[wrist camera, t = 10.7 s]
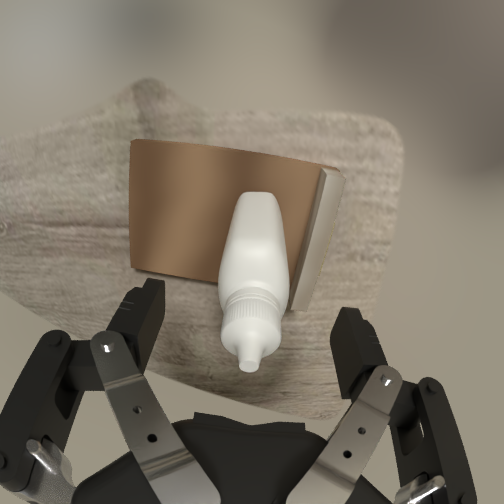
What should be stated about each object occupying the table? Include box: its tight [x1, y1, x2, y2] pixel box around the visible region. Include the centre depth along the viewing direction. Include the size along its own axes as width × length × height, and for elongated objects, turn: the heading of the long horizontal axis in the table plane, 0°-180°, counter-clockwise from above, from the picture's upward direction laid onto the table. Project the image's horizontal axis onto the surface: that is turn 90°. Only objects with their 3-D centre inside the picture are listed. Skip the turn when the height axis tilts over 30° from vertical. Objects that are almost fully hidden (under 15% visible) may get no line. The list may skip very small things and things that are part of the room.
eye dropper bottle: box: [218, 192, 290, 372], centre depth 16 cm, size 4×6×12 cm
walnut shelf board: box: [129, 139, 346, 312], centre depth 20 cm, size 14×10×3 cm
